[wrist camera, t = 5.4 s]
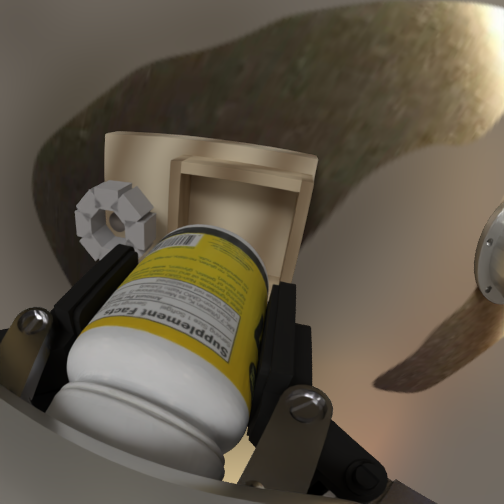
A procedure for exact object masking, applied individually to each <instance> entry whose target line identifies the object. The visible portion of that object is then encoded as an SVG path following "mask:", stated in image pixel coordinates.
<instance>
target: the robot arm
mask: <svg viewBox="0 0 504 504" xmlns="http://www.w3.org/2000/svg"><path fill="white" fill-rule="evenodd" d="M137 265H138V253H137V252H135V250H134V248H133V247H131V246H127V245H123V244H118V245H116V246H115V247H114V248H113V249H112V250H111V251H110V252H109V253H108V254H106V255H105V256H104V257H103V258H102V259H101V260H100V261H99V262H98V263H97V264H96V265H95V266H94V267H92V268H91V269H90V270H89V271H88V272H87V273H86V274H85V275H84V276H83V277H82V278H81V279H80V280H79V281H78V282H77V283H76V284H75V285H74V286H73V287H72V288H71V289H70V290H69V291H68V292H67V293H66V294H65V295H64V296H63V297H62V298H61V299H60V300H59V301H58V302H57V303H56V304H55V305H54V308H53V309H52V310H51V312H49V311H48V310H47V309H45V308H42V307H32V308H28V309H25V310H23V311H22V312H20V313H19V314H18V315H17V316H16V318H15V319H14V321H13V323H12V325H11V326H10V328H8V329H3V330H0V504H437V503H435V502H434V501H432V500H430V499H428V498H426V497H425V496H423V495H421V494H420V493H418V492H416V491H415V490H413V489H411V488H410V487H408V486H406V485H405V484H403V483H401V482H400V481H398V480H397V479H396V480H394V481H391V480H390V479H389V478H387V473H386V471H385V468H384V467H383V466H382V465H381V464H380V462H379V461H377V460H376V459H375V458H374V457H373V456H372V455H370V454H369V453H368V452H367V451H366V450H365V449H364V448H362V447H361V446H360V445H359V444H358V443H357V442H356V441H354V440H353V439H352V438H351V437H350V436H349V435H348V434H347V433H346V432H345V431H343V430H342V429H341V428H340V427H339V426H338V425H337V424H336V423H335V422H334V421H332V420H331V418H332V414H333V406H332V403H331V401H330V399H329V398H328V396H327V395H326V394H325V393H324V392H323V391H321V390H320V389H318V388H315V387H314V386H312V342H311V327H310V326H307V325H301V324H297V323H295V314H296V312H295V311H296V285H295V284H291V283H286V282H282V281H280V283H279V285H276V284H273V286H272V290H271V293H270V297H269V301H268V305H267V309H266V315H265V322H264V328H263V334H262V341H261V347H260V353H259V360H258V366H257V372H256V380H255V385H254V391H253V399H252V404H251V411H250V417H249V422H248V425H247V427H248V430H247V436H249V441H250V442H251V443H252V444H253V445H254V446H255V448H256V449H255V451H254V453H253V454H252V456H251V458H250V460H249V462H248V464H247V466H246V468H245V470H244V471H243V473H242V475H241V477H240V479H239V481H238V482H237V484H234V483H229V482H224V481H219V480H214V479H210V478H206V477H202V476H198V475H194V474H190V473H187V472H183V471H179V470H176V469H173V468H169V467H166V466H163V465H160V464H157V463H154V462H151V461H148V460H145V459H142V458H140V457H137V456H134V455H132V454H129V453H126V452H124V451H121V450H119V449H116V448H114V447H112V446H109V445H107V444H105V443H102V442H100V441H98V440H96V439H94V438H91V437H89V436H87V435H85V434H83V433H81V432H79V431H77V430H75V429H73V428H71V427H69V426H67V425H65V424H63V423H61V422H60V421H58V420H56V419H54V418H52V417H51V416H49V415H47V414H45V413H46V411H47V409H48V407H49V406H50V404H51V403H52V401H53V399H54V396H55V395H56V394H57V393H58V392H59V391H60V390H61V388H62V387H63V386H64V385H66V384H68V383H69V379H68V374H67V360H68V355H69V352H70V350H71V348H72V346H73V344H74V342H75V341H76V339H77V338H78V336H79V335H80V334H81V332H82V331H83V330H84V329H85V327H86V326H87V325H88V324H89V322H90V321H91V320H92V319H93V318H94V316H95V315H96V314H97V313H98V311H99V310H100V309H101V308H102V307H103V305H104V304H105V303H106V302H107V301H108V299H109V298H110V297H111V296H112V294H113V293H114V292H115V291H116V290H117V289H118V287H119V286H120V285H121V284H122V283H123V282H124V280H125V279H126V278H127V277H128V276H129V274H130V273H131V272H132V271H133V270H134V269H135V268H136V267H137ZM474 274H475V280H476V283H477V285H478V288H479V290H480V291H481V292H482V294H483V295H484V296H485V297H486V298H487V299H488V300H489V301H491V302H493V303H495V304H504V202H503V203H502V204H501V205H500V206H499V207H498V208H497V209H496V210H495V211H494V213H493V214H492V216H491V217H490V218H489V220H488V222H487V224H486V225H485V227H484V229H483V231H482V234H481V236H480V239H479V242H478V245H477V249H476V253H475V260H474Z"/></svg>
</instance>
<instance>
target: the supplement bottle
mask: <svg viewBox="0 0 504 504" xmlns="http://www.w3.org/2000/svg"><path fill="white" fill-rule="evenodd" d="M268 292H269V280H268V274H267V271H266V268H265V265H264V263H263V261H262V259H261V258H260V256H259V254H258V253H257V252H256V251H255V249H254V248H253V247H252V246H251V245H250V244H249V243H248V242H247V241H245V240H244V239H243V238H241V237H240V236H238V235H237V234H235V233H233V232H231V231H229V230H226V229H224V228H220V227H217V226H212V225H204V224H195V225H188V226H184V227H181V228H178V229H176V230H174V231H172V232H170V233H169V234H167V235H166V236H165V237H164V238H162V239H161V240H160V241H159V242H158V243H157V244H156V246H155V247H154V248H153V249H152V250H151V251H150V252H149V253H148V254H147V255H146V256H145V258H144V259H143V260H142V261H141V262H140V263H139V264H138V265H137V267H136V268H135V269H134V270H133V271H132V272H131V273H130V274H129V276H128V277H127V278H126V279H125V280H124V282H123V283H122V284H121V285H120V286H119V287H118V289H117V290H116V291H115V292H114V293H113V294H112V296H111V297H110V298H109V299H108V301H107V302H106V303H105V304H104V305H103V307H102V308H101V309H100V310H99V311H98V313H97V314H96V315H95V316H94V318H93V319H92V320H91V321H90V322H89V324H88V325H87V326H86V327H85V329H84V330H83V331H82V332H81V334H80V335H79V336H78V338H77V339H76V341H75V342H74V344H73V346H72V348H71V350H70V352H69V355H68V360H67V374H68V379H69V383H68V384H66V385H64V386H63V387H62V388H61V390H60V391H59V392H58V393H57V394H56V395H55V396H54V399H53V401H52V403H51V404H50V406H49V407H48V409H47V411H46V413H45V414H47V415H49V416H51V417H52V418H54V419H56V420H58V421H60V422H61V423H63V424H65V425H67V426H69V427H71V428H73V429H75V430H77V431H79V432H81V433H83V434H85V435H87V436H89V437H91V438H94V439H96V440H98V441H100V442H102V443H105V444H107V445H109V446H112V447H114V448H116V449H119V450H121V451H124V452H126V453H129V454H132V455H134V456H137V457H140V458H142V459H145V460H148V461H151V462H154V463H157V464H160V465H163V466H166V467H169V468H173V469H176V470H179V471H183V472H187V473H190V474H194V475H198V476H202V477H206V478H210V479H214V480H219V481H222V480H223V478H224V474H225V470H224V464H225V459H224V456H223V454H225V453H227V452H228V451H230V450H231V449H233V448H234V447H235V446H236V445H237V444H238V443H239V442H240V440H241V438H242V437H243V435H244V434H245V431H246V429H247V425H248V422H249V417H250V411H251V404H252V399H253V391H254V385H255V380H256V372H257V366H258V360H259V353H260V347H261V341H262V334H263V328H264V322H265V315H266V308H267V300H268Z"/></svg>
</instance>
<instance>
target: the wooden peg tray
mask: <svg viewBox="0 0 504 504" xmlns="http://www.w3.org/2000/svg"><path fill="white" fill-rule="evenodd" d="M317 162H318V158H317V156H316V155H311V154H306V153H301V152H296V151H290V150H285V149H279V148H274V147H268V146H262V145H255V144H249V143H242V142H235V141H227V140H220V139H211V138H203V137H193V136H183V135H172V134H159V133H143V132H122V131H117V132H112V133H108V134H105V182H107V181H109V180H113V181H121V182H129V183H132V188H134V187H136V186H138V188H139V189H140V190H141V191H142V193H143V194H144V195H145V196H146V198H147V199H148V200H149V201H150V203H151V204H152V205H153V206H154V208H153V209H152V210H151V211H150V212H152V213H156V239H155V240H154V241H153V242H154V244H153V245H152V246H151V247H150V248H149V249H148V250H147V251H146V252H145V253H144V254H143V255H142V256H141V257H140V258H139V259H138V264H139V263H140V262H141V261H142V260H143V259H144V258H145V256H146V255H147V254H148V253H149V252H150V251H151V250H152V249H153V248H154V247H155V246H156V244H157V243H158V242H159V241H160V240H161V239H162V238H164V237H165V236H166V235H167V234H169V233H170V232H172V231H174V230H176V229H178V228H181V227H184V226H188V225H195V224H204V225H212V226H217V227H220V228H224V229H226V230H229V231H231V232H233V233H235V234H237V235H238V236H240V237H241V238H243V239H244V240H245V241H247V242H248V243H249V244H250V245H251V246H252V247H253V248H254V249H255V251H256V252H257V253H258V254H259V256H260V258H261V259H262V261H263V263H264V265H265V268H266V271H267V274H268V280H269V292H268V300H267V301H269V297H270V293H271V290H272V286H273V284H276V285H279V283H280V281H282V282H286V283H291V282H292V278H293V273H294V270H295V266H296V261H297V257H298V253H299V249H300V245H301V240H302V236H303V232H304V227H305V223H306V218H307V214H308V209H309V205H310V200H311V195H312V191H313V186H314V177H315V172H316V167H317ZM106 225H107V226H108V228H109V229H110V230H111V231H112V233H113V234H114V235H115V236H117V237H121V238H125V225H124V224H123V222H122V221H121V220H120V219H119V217H118V216H117V215H116V214H115V212H114V211H109V210H106Z"/></svg>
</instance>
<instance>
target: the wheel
mask: <svg viewBox="0 0 504 504" xmlns="http://www.w3.org/2000/svg"><path fill="white" fill-rule="evenodd" d="M76 207H77V208H78V210H76V211H75V218H76V228H77V236H80V237H83V238H82V239H81V240H80V242H81V244H82V245H83V246H84V247H85V249H86V250H87V251H88V252H89V253H90V255H91V256H92V257H93V258H94V260H95V261H96V260H97V259H98V258H99V259H100V260H101V259H102V258H103V257H104V256H105V255H106V254H108V253H109V252H110V251H111V250H112V249H113V248H114V247H115V246H116V245H118V244H123V245H127V246H131V247H133V248H134V250H135V252H137V253H138V259H139V258H140V257H141V256H142V255H143V254H144V253H145V252H146V251H147V250H148V249H149V248H150V247H151V246H152V245H153V244H154V242H153V241H154V240H155V239H156V213H152V212H150V211H151V210H152V209H153V208H154V206H153V205H152V204H151V203H150V201H149V200H148V199H147V198H146V196H145V195H144V194H143V193H142V191H141V190H140V189H139V188H138V186H136V187H134V188H132V183H129V182H121V181H113V180H109V181H107V182H104V183H102V184H100V185H98V186H96V187H94V188H92V189H90V190H89V191H88V192H87V193H86V195H85V196H84V197H83V198H82V199H81V201H80V202H79V203H78V204H77V206H76ZM105 210H109V211H114V212H115V214H116V215H117V216H118V217H119V219H120V220H121V221H122V222H123V224H124V225H125V238H121V237H117V236H115V235H114V234H113V233H112V231H111V230H110V229H109V228H108V226H107V225H106V220H105Z"/></svg>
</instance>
